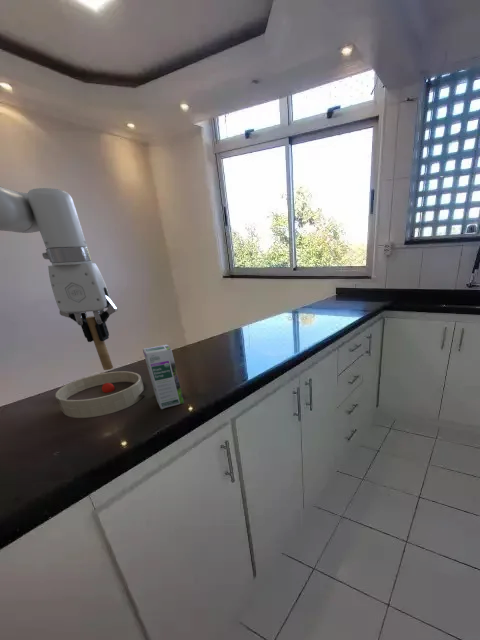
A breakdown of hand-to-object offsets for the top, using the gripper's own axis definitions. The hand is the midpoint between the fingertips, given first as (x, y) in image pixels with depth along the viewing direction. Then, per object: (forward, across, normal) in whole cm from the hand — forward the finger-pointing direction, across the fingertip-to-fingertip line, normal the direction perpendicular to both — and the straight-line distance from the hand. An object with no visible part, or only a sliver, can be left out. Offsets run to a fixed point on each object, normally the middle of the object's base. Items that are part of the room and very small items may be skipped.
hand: (98, 339), depth 76 cm
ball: (+14, -3, +3) cm, 15 cm away
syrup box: (+17, +15, -5) cm, 23 cm away
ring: (+16, -3, 0) cm, 17 cm away
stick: (+8, 0, 0) cm, 8 cm away
